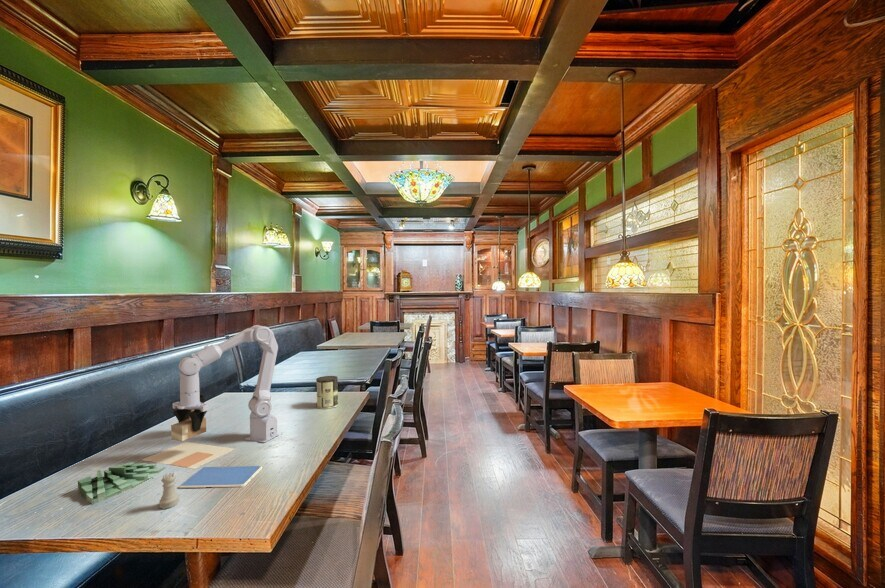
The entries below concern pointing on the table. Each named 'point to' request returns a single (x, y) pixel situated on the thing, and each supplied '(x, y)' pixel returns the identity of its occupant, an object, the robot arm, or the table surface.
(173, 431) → the two tone block
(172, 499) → the rook chess piece
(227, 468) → the tablet computer
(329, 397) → the coffee can
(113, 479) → the money
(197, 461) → the mat
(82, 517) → the table surface
